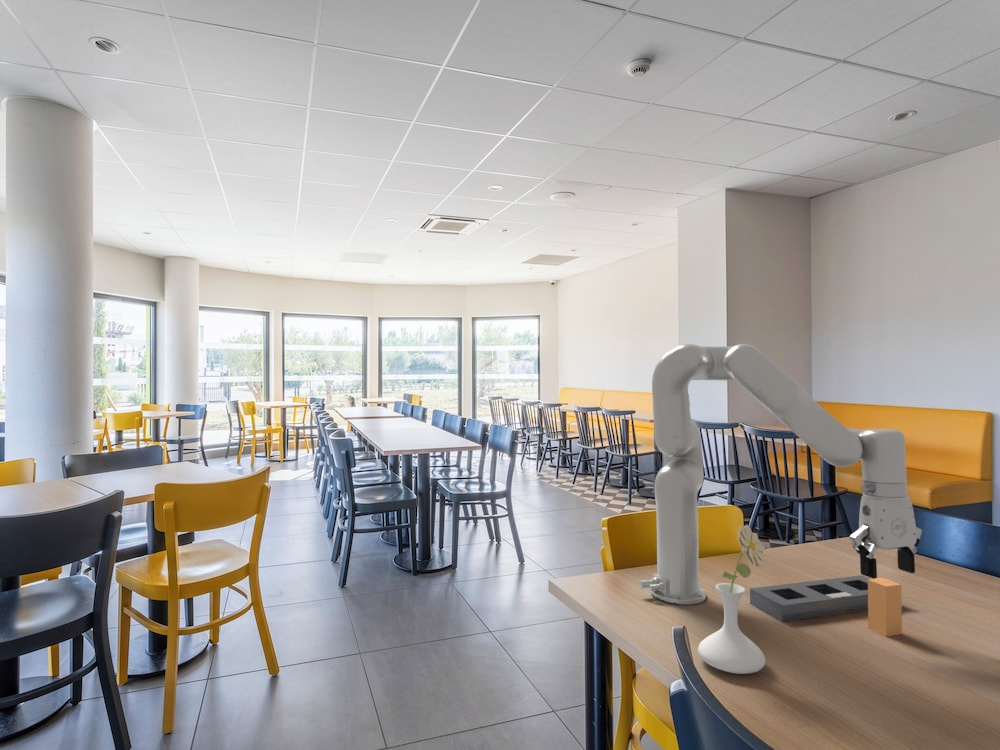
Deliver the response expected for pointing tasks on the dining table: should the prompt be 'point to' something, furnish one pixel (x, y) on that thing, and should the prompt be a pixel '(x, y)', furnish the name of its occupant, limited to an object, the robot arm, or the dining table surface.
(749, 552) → the flower in vase
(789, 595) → the peg board
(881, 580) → the square peg
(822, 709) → the dining table surface
